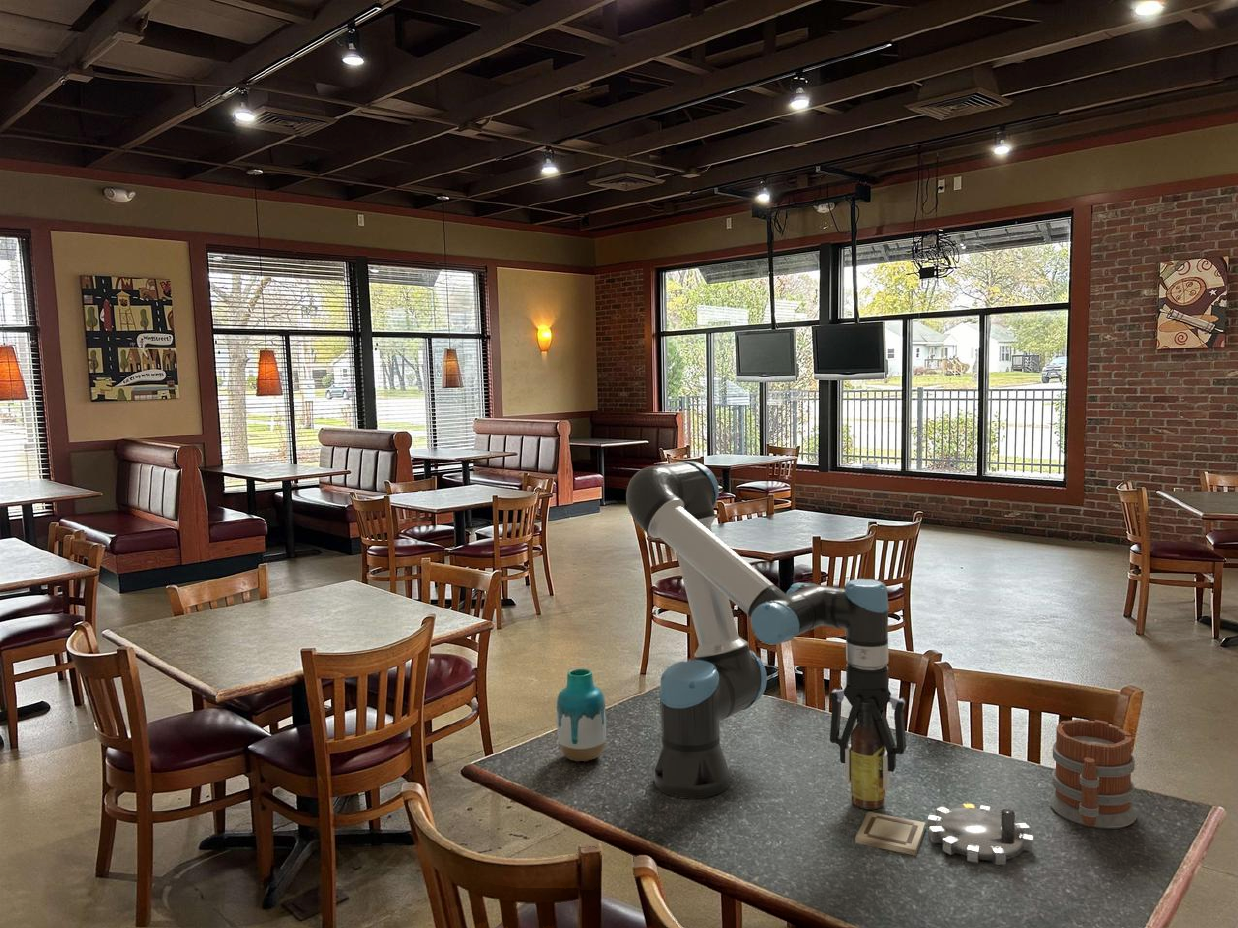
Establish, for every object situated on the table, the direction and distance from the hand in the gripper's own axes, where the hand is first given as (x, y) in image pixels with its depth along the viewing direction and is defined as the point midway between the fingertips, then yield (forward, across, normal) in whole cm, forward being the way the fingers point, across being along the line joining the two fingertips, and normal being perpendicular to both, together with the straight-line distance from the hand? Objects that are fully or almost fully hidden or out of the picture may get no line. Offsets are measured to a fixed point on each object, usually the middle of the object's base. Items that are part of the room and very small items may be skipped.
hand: (867, 782), depth 165 cm
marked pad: (+4, +6, -10) cm, 12 cm away
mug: (+4, +37, +11) cm, 39 cm away
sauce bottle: (+4, 0, 0) cm, 4 cm away
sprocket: (+4, +20, -6) cm, 21 cm away
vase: (+5, -60, -4) cm, 60 cm away
